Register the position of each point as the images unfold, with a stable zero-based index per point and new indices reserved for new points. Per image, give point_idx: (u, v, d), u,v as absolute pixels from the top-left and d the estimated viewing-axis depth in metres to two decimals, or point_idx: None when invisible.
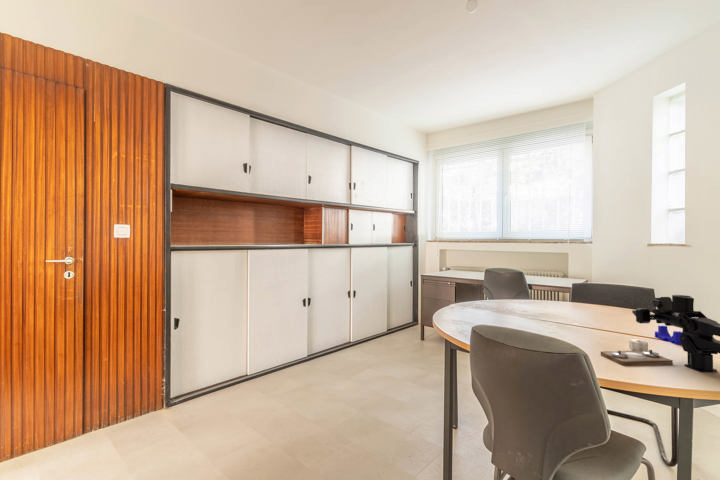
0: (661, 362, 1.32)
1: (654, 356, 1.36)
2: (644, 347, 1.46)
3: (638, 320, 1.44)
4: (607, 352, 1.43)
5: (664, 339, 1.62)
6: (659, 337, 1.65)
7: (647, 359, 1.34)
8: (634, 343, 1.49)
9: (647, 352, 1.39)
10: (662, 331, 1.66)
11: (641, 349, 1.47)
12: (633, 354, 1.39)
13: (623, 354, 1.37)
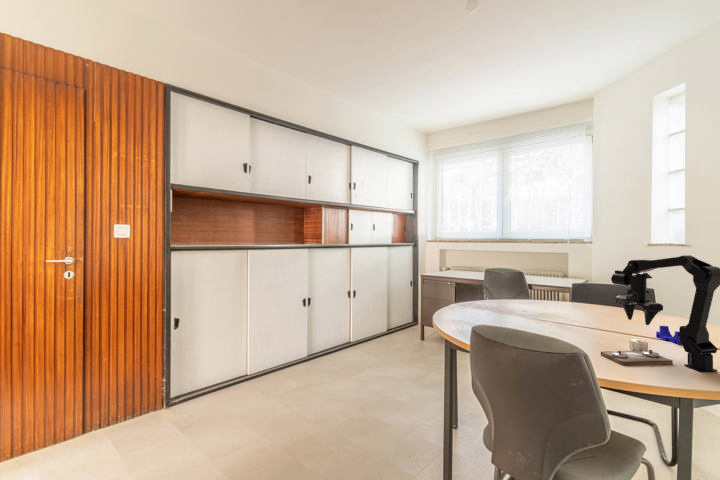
0: (661, 362, 1.32)
1: (654, 356, 1.36)
2: (644, 347, 1.46)
3: (661, 307, 1.40)
4: (607, 352, 1.43)
5: (666, 339, 1.62)
6: (660, 337, 1.65)
7: (647, 359, 1.34)
8: (634, 343, 1.49)
9: (647, 352, 1.39)
10: (663, 331, 1.66)
11: (641, 349, 1.47)
12: (633, 354, 1.39)
13: (623, 354, 1.37)
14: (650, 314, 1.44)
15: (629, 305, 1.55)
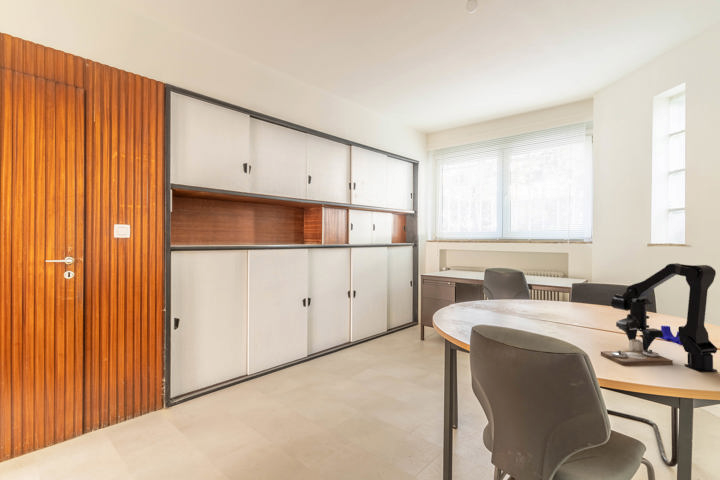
0: (661, 362, 1.32)
1: (654, 356, 1.36)
2: None
3: (661, 334, 1.40)
4: (607, 352, 1.43)
5: (667, 339, 1.62)
6: (662, 337, 1.65)
7: (647, 359, 1.34)
8: (634, 343, 1.49)
9: (647, 352, 1.39)
10: (665, 331, 1.65)
11: (641, 349, 1.47)
12: (633, 354, 1.39)
13: (623, 354, 1.37)
14: (648, 339, 1.45)
15: (631, 330, 1.53)
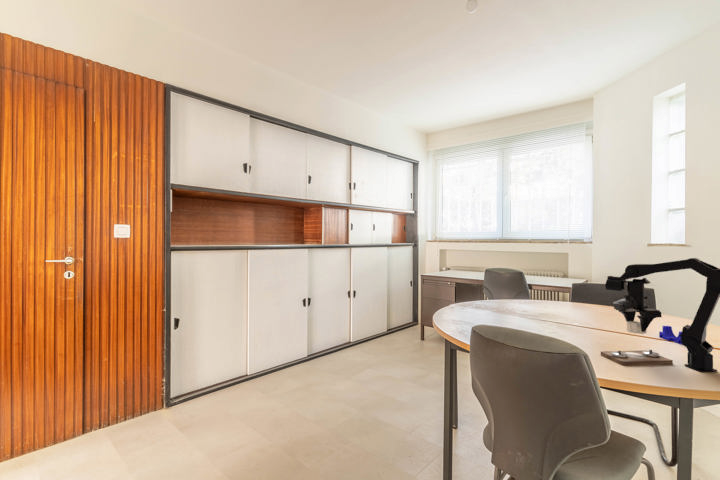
0: (661, 362, 1.32)
1: (654, 356, 1.36)
2: None
3: (659, 314, 1.34)
4: (607, 352, 1.43)
5: (669, 339, 1.62)
6: (664, 337, 1.65)
7: (647, 359, 1.34)
8: (632, 325, 1.43)
9: (647, 352, 1.39)
10: (667, 331, 1.65)
11: (639, 331, 1.41)
12: (633, 354, 1.39)
13: (623, 354, 1.37)
14: (646, 320, 1.39)
15: (629, 312, 1.48)
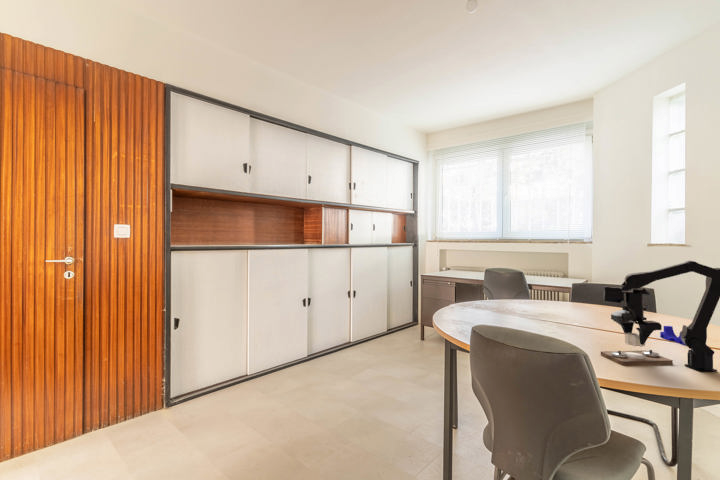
0: (661, 362, 1.32)
1: (654, 356, 1.36)
2: None
3: (659, 327, 1.29)
4: (607, 352, 1.43)
5: (670, 339, 1.62)
6: (665, 337, 1.64)
7: (647, 359, 1.34)
8: (630, 337, 1.38)
9: (647, 352, 1.39)
10: (668, 331, 1.65)
11: (638, 343, 1.36)
12: (633, 354, 1.39)
13: (623, 354, 1.37)
14: (645, 333, 1.34)
15: (627, 323, 1.42)
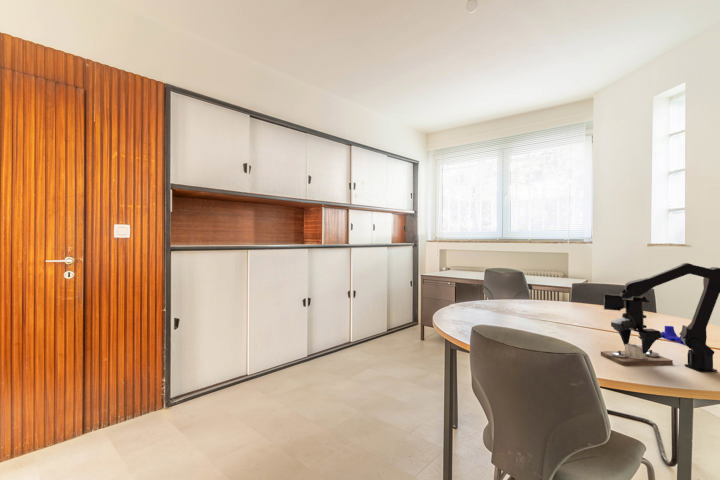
0: (661, 362, 1.32)
1: (654, 356, 1.36)
2: (641, 352, 1.35)
3: (659, 335, 1.29)
4: (607, 352, 1.43)
5: (671, 339, 1.62)
6: (666, 337, 1.64)
7: (647, 359, 1.34)
8: (630, 348, 1.38)
9: (647, 352, 1.39)
10: (669, 331, 1.65)
11: (637, 355, 1.36)
12: None
13: (623, 354, 1.37)
14: (648, 341, 1.33)
15: (625, 330, 1.43)
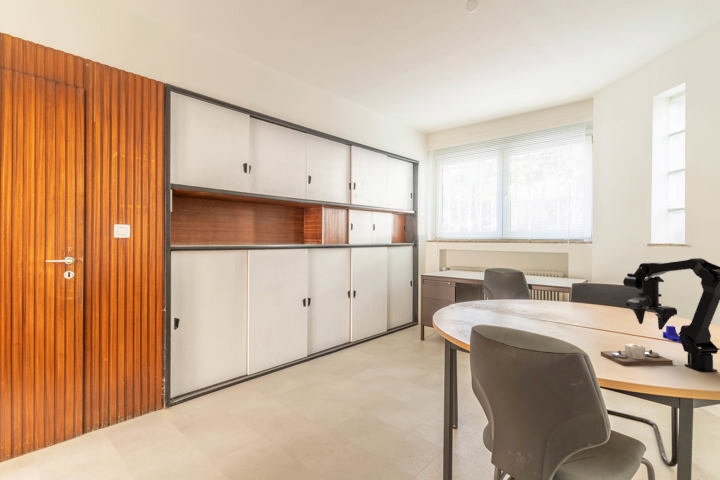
0: (661, 362, 1.32)
1: (654, 356, 1.36)
2: (641, 352, 1.35)
3: (675, 311, 1.37)
4: (607, 352, 1.43)
5: (673, 339, 1.62)
6: (668, 337, 1.64)
7: (647, 359, 1.34)
8: (630, 348, 1.38)
9: (647, 352, 1.39)
10: (670, 331, 1.65)
11: (637, 355, 1.36)
12: None
13: (623, 354, 1.37)
14: (663, 318, 1.41)
15: (640, 309, 1.52)
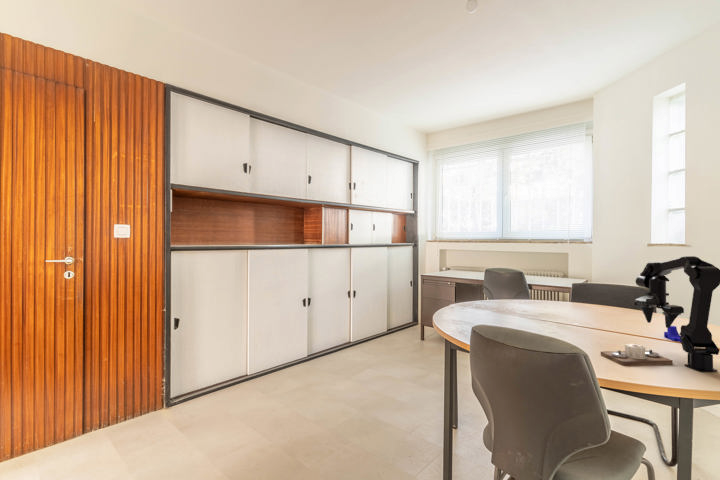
0: (661, 362, 1.32)
1: (654, 356, 1.36)
2: (641, 352, 1.35)
3: (682, 310, 1.40)
4: (607, 352, 1.43)
5: (674, 339, 1.62)
6: (669, 337, 1.64)
7: (647, 359, 1.34)
8: (630, 348, 1.38)
9: (647, 352, 1.39)
10: (672, 331, 1.65)
11: (637, 355, 1.36)
12: None
13: (623, 354, 1.37)
14: (670, 317, 1.44)
15: (648, 308, 1.55)
